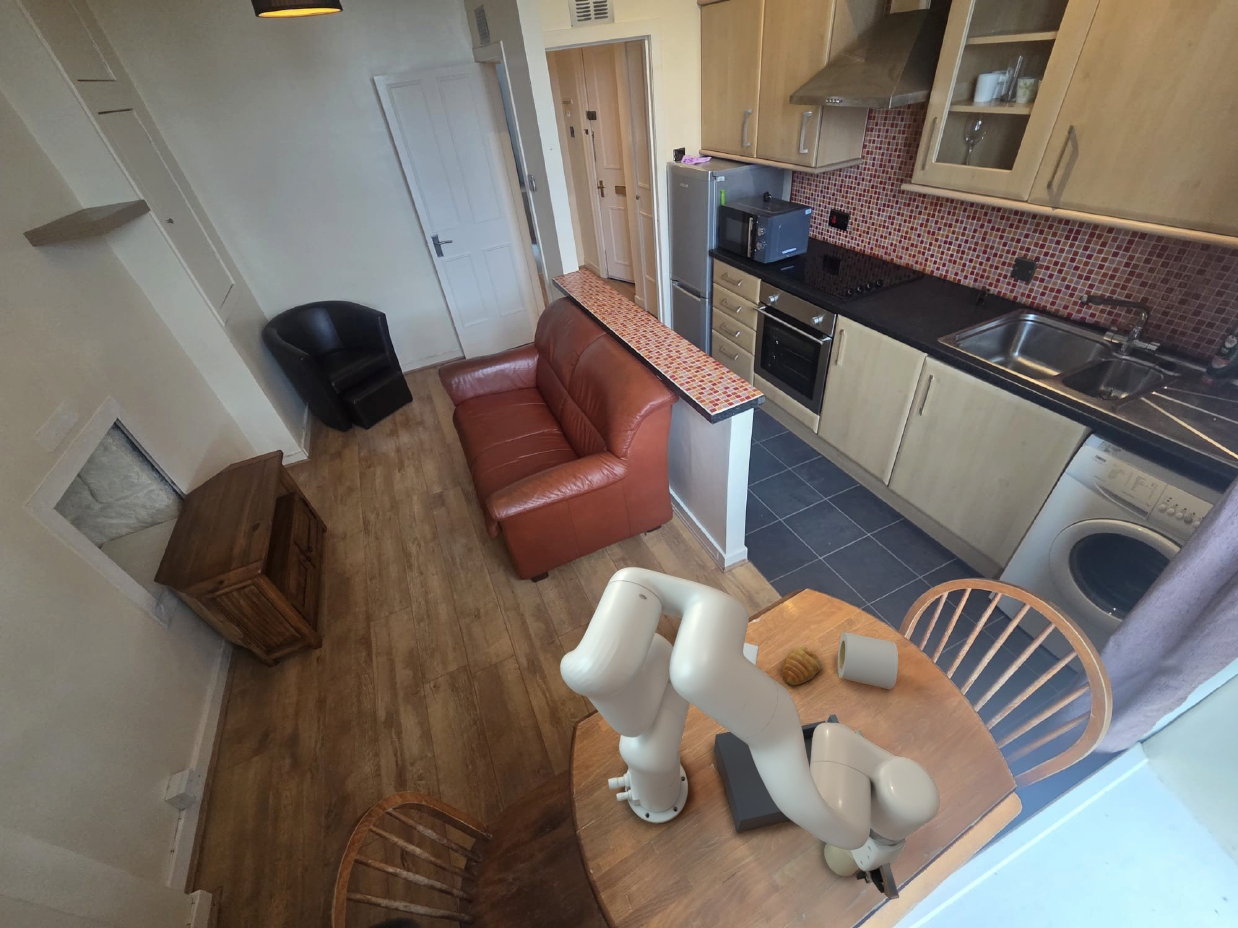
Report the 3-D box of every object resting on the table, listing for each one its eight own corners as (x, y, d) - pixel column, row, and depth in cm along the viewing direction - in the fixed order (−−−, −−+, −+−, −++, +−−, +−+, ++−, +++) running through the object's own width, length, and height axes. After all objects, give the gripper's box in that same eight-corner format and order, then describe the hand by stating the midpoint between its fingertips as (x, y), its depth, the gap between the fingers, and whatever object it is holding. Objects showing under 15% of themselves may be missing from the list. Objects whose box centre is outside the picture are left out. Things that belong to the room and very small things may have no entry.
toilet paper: (838, 685, 114) (847, 664, 107) (837, 645, 121) (846, 623, 114) (886, 697, 112) (900, 676, 105) (883, 655, 118) (895, 633, 112)
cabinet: (775, 736, 108) (781, 720, 102) (806, 817, 97) (814, 803, 91) (713, 749, 107) (715, 734, 101) (736, 832, 96) (740, 820, 90)
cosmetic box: (749, 696, 114) (755, 671, 106) (730, 690, 115) (734, 665, 107) (754, 671, 118) (759, 645, 110) (735, 666, 119) (739, 640, 111)
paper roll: (833, 879, 90) (848, 864, 81) (818, 841, 94) (832, 823, 85) (863, 872, 90) (882, 856, 82) (847, 834, 94) (864, 816, 86)
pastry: (798, 694, 113) (800, 687, 111) (773, 672, 118) (775, 664, 115) (823, 667, 117) (826, 659, 115) (798, 647, 122) (801, 639, 119)
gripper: (828, 750, 78) (805, 784, 90) (890, 894, 66) (855, 911, 77) (873, 741, 79) (846, 775, 91) (944, 881, 66) (901, 900, 78)
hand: (850, 838), depth 84 cm, fingers open, 9 cm apart
